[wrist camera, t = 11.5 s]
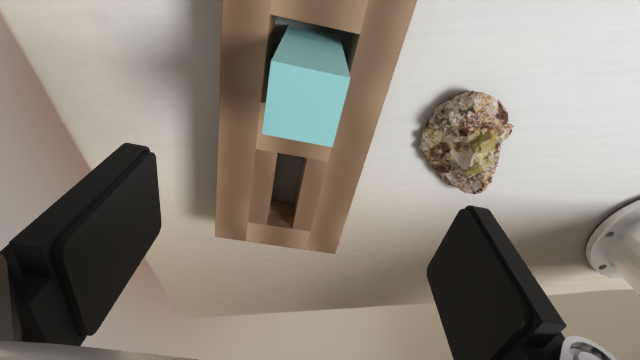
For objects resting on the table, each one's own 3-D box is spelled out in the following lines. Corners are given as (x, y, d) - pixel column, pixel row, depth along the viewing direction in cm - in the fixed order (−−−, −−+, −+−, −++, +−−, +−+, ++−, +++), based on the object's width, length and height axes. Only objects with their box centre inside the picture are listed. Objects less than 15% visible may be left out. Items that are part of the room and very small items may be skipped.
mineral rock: (410, 114, 27) (522, 95, 24) (412, 92, 30) (511, 72, 27) (428, 208, 33) (519, 202, 30) (428, 180, 36) (511, 173, 33)
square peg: (339, 36, 25) (350, 77, 16) (328, 86, 28) (332, 147, 18) (289, 24, 25) (271, 60, 16) (281, 76, 27) (261, 134, 18)
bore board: (407, -19, 23) (422, -16, 20) (333, 227, 36) (334, 253, 33) (239, -60, 22) (224, -64, 19) (224, 210, 35) (215, 236, 32)
